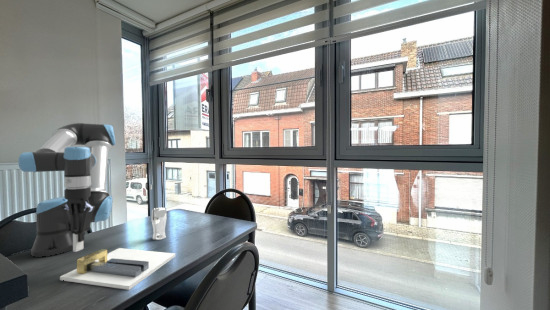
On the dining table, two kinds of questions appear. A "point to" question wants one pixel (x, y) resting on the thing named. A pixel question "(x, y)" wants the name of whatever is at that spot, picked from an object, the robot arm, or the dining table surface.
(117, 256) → the board
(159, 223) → the beer glass
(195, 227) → the dining table surface
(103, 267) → the fixed jaw
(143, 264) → the moving jaw
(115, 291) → the dining table surface
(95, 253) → the collar
